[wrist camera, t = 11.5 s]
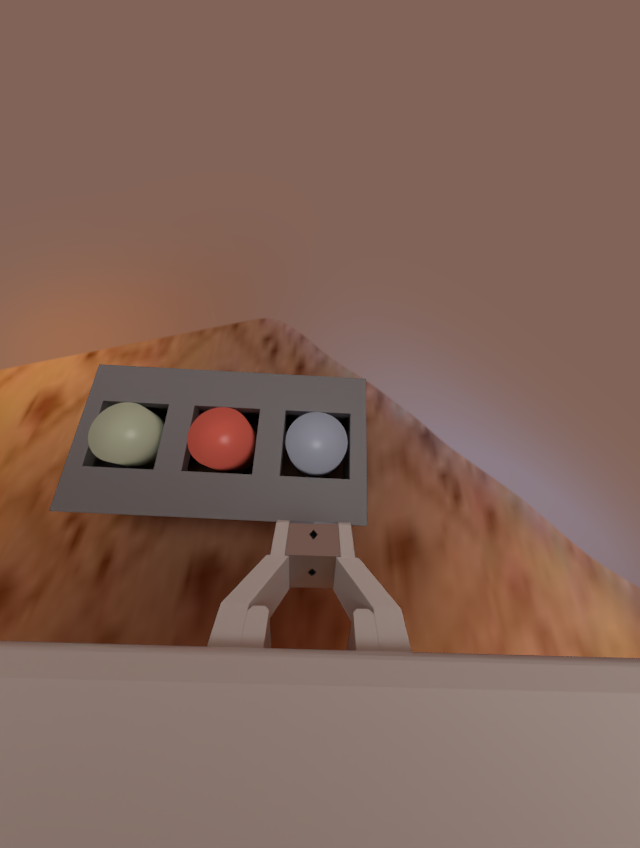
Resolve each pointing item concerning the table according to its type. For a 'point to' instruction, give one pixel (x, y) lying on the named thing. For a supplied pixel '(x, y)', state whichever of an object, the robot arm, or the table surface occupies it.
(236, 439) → the red button
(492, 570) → the table surface
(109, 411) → the green button
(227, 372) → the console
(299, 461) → the blue button
